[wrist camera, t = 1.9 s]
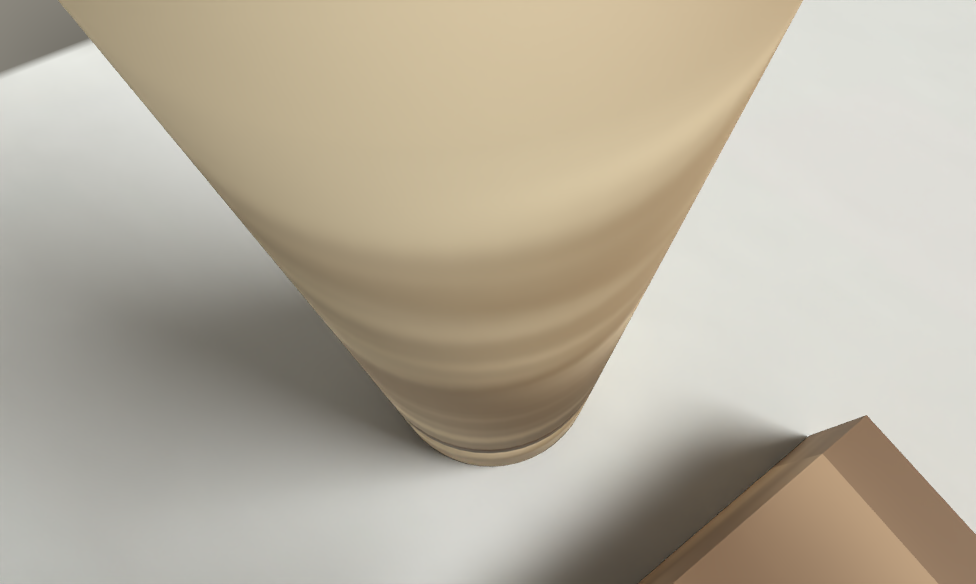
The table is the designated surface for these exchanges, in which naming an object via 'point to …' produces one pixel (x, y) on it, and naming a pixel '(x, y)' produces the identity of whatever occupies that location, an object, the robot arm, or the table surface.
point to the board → (831, 522)
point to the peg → (455, 173)
